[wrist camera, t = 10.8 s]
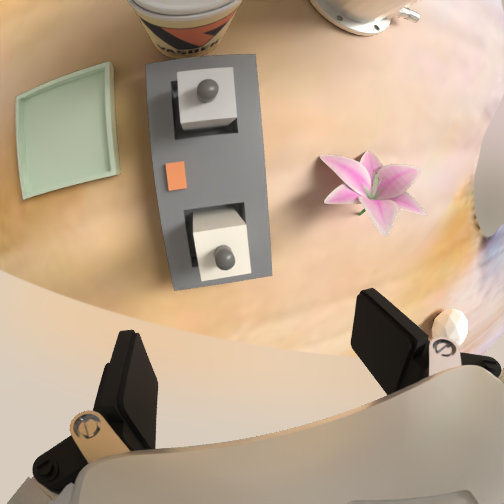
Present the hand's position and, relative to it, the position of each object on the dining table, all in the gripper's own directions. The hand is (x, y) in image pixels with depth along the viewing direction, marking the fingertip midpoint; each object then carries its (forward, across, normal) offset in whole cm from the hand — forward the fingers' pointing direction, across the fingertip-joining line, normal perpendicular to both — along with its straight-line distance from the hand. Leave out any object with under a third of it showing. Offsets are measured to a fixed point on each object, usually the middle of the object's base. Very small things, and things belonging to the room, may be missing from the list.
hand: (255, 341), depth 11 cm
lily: (+20, -16, -3) cm, 26 cm away
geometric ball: (+20, -39, +23) cm, 49 cm away
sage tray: (+20, +15, -13) cm, 28 cm away
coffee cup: (+20, +1, -22) cm, 30 cm away
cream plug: (+19, 0, 0) cm, 19 cm away
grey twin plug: (+19, 0, -12) cm, 23 cm away
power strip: (+20, 0, -6) cm, 21 cm away
